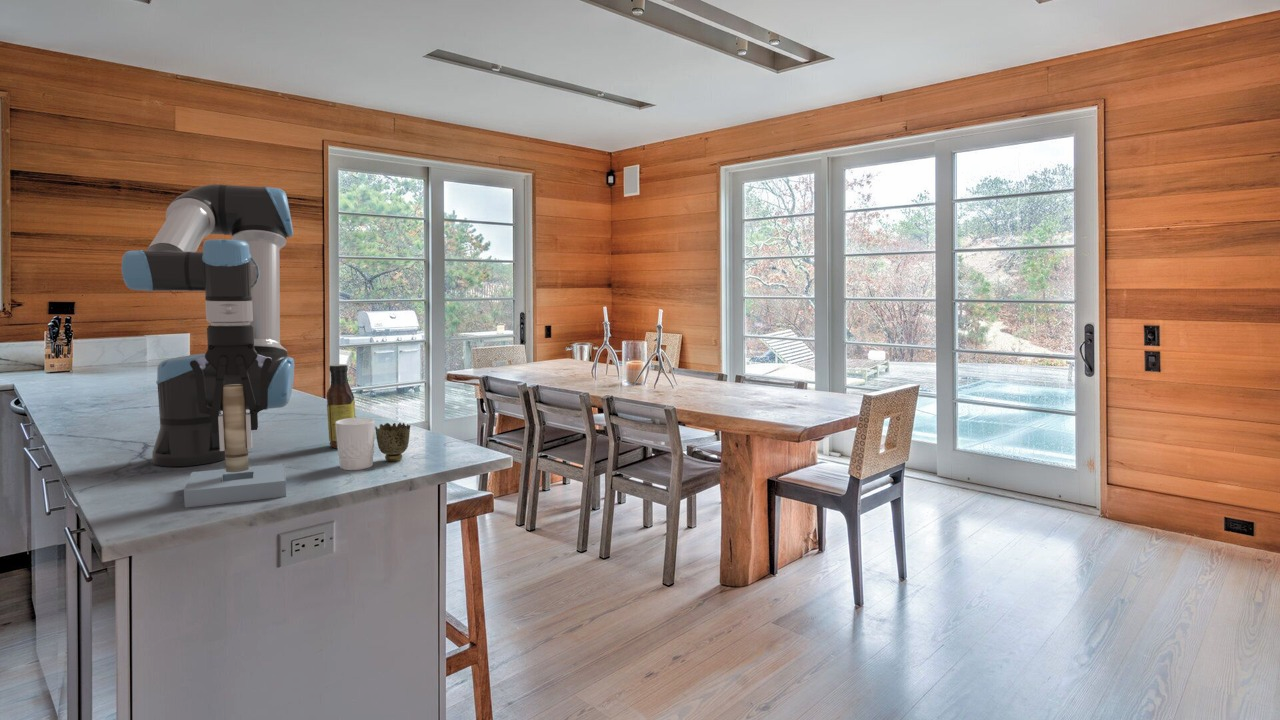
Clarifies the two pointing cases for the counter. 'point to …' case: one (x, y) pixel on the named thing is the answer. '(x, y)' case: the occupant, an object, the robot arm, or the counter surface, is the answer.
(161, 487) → the counter surface
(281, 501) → the counter surface
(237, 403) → the dowel
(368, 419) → the white cup
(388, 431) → the cup
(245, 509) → the counter surface
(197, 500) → the block
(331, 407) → the sauce bottle
